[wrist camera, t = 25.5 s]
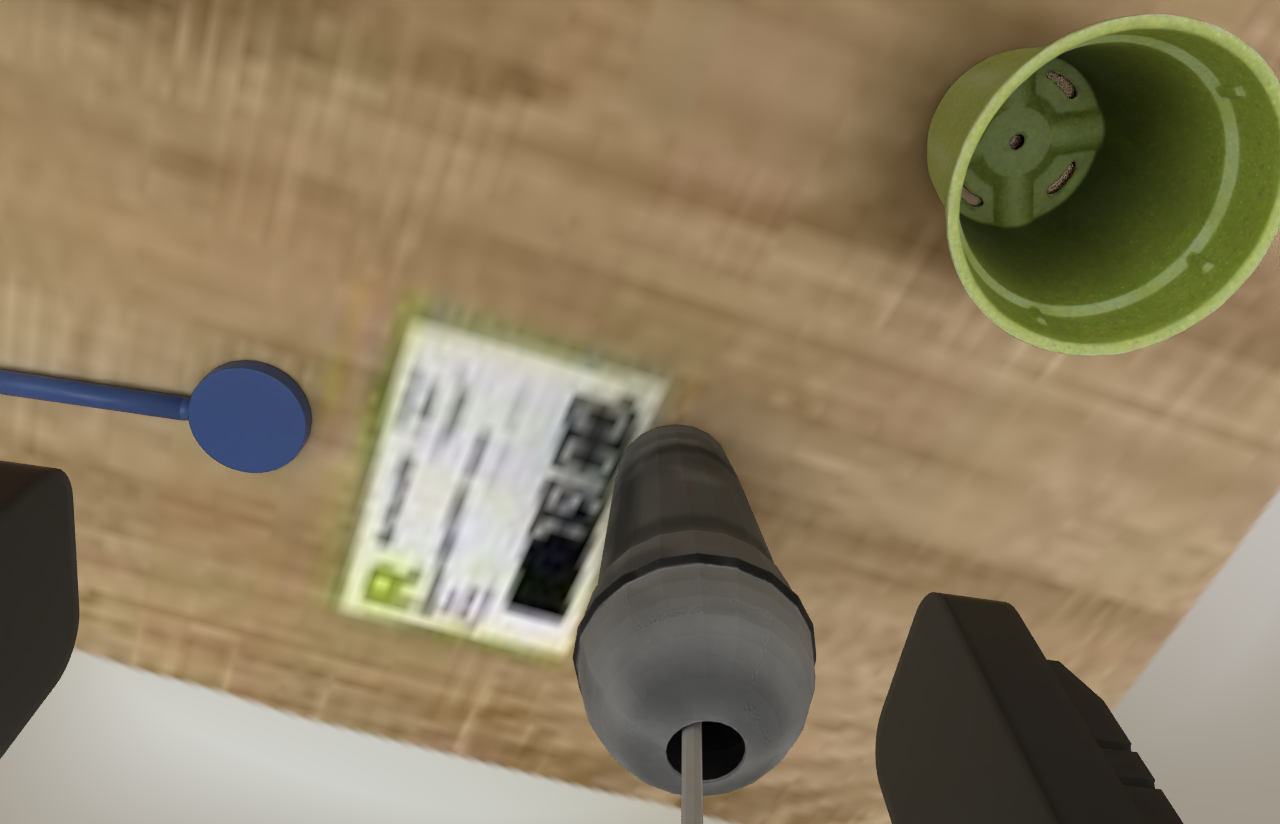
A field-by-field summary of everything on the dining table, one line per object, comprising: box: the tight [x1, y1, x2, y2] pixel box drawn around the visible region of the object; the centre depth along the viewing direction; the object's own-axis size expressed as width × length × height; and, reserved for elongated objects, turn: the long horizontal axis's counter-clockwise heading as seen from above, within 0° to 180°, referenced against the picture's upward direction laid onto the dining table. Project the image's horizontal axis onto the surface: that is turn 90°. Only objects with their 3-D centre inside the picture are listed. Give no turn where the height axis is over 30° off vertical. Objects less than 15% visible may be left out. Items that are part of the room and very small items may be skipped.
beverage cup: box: [573, 425, 816, 824], centre depth 32 cm, size 7×7×20 cm
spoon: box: [0, 361, 311, 473], centre depth 39 cm, size 14×4×1 cm, turn 80°
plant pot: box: [927, 14, 1280, 356], centre depth 32 cm, size 9×9×9 cm
